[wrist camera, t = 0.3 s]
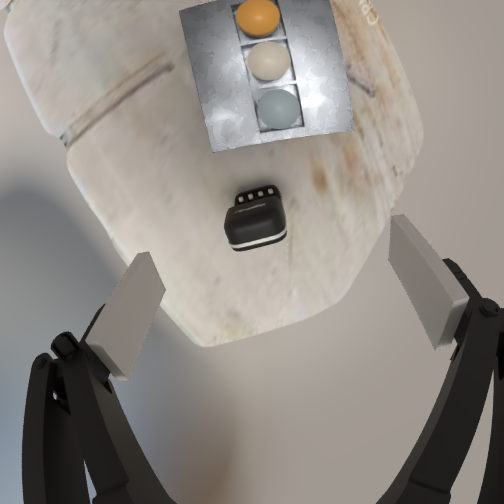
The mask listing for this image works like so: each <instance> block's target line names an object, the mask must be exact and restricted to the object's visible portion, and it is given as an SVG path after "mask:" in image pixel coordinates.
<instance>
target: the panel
mask: <svg viewBox="0 0 504 504" xmlns="http://www.w3.org/2000/svg"><path fill="white" fill-rule="evenodd" d="M245 1H247V0H217V1H213V2H209V3H205V4H201V5H198V6H194V7H191V8H187V9H184V10H181V11H179V14H180V18H181V22H182V27H183V31H184V35H185V40H186V44H187V48H188V52H189V57H190V61H191V65H192V69H193V74H194V78H195V82H196V86H197V90H198V94H199V98H200V102H201V107H202V111H203V115H204V119H205V123H206V127H207V131H208V135H209V139H210V143H211V147H212V151H213V152H218V151H223V150H227V149H232V148H237V147H242V146H247V145H253V144H258V143H264V142H270V141H276V140H283V139H289V138H296V137H304V136H311V135H320V134H329V133H338V132H349V131H354V122H353V115H352V107H351V100H350V94H349V87H348V82H347V76H346V70H345V65H344V60H343V55H342V50H341V45H340V41H339V36H338V32H337V28H336V24H335V20H334V16H333V12H332V9H331V5H330V1H329V0H268V1H270V2H272V3H273V4H275V5H276V7H277V8H278V10H279V13H280V18H279V24H278V27H277V29H276V30H275V32H274V33H272V34H271V35H269V36H266V37H262V38H255V37H251V36H249V35H247V34H245V33H244V32H243V31H242V30H241V28H240V26H239V24H238V22H237V18H236V13H237V10H238V8H239V7H240V5H241V4H243V3H244V2H245ZM266 41H271V42H276V43H278V44H280V45H282V46H283V47H284V48H285V49H286V50H287V51H288V53H289V55H290V60H291V62H290V67H289V69H288V71H287V72H286V73H285V74H284V75H283V76H282V77H281V78H279V79H277V80H274V81H264V80H261V79H259V78H257V77H256V76H254V75H253V73H252V72H251V71H250V69H249V67H248V64H247V56H248V53H249V51H250V50H251V49H252V48H253V47H254V46H255V45H256V44H258V43H261V42H266ZM274 89H282V90H286V91H289V92H290V93H292V94H293V95H294V96H295V97H296V98H297V100H298V102H299V104H300V115H299V117H298V119H297V121H296V122H295V123H294V124H293V125H291V126H290V127H288V128H285V129H274V128H271V127H269V126H267V125H266V124H264V123H263V121H262V120H261V119H260V117H259V114H258V103H259V101H260V99H261V97H262V96H263V95H264V94H265V93H267V92H269V91H271V90H274Z"/></svg>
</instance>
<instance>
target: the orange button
mask: <svg viewBox="0 0 504 504" xmlns="http://www.w3.org/2000/svg"><path fill="white" fill-rule="evenodd" d="M236 18H237V22H238V24H239V26H240V28H241V30H242V31H243V32H244V33H245V34H247V35H249V36H251V37H255V38H262V37H266V36H269V35H271V34H272V33H274V32H275V30H276V29H277V27H278V24H279V18H280V13H279V10H278V8H277V7H276V5H275V4H273V3H272V2H270V1H268V0H247V1H245V2H244V3H243V4H241V5H240V7H239V8H238V10H237V13H236Z"/></svg>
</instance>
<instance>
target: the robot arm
mask: <svg viewBox="0 0 504 504" xmlns="http://www.w3.org/2000/svg"><path fill="white" fill-rule="evenodd" d="M388 260H389V262H390V264H391V265H392V267H393V269H394V270H395V272H396V274H397V276H398V278H399V280H400V281H401V283H402V285H403V287H404V289H405V290H406V292H407V294H408V296H409V298H410V300H411V302H412V304H413V306H414V308H415V310H416V312H417V314H418V316H419V318H420V320H421V322H422V324H423V326H424V328H425V330H426V333H427V335H428V337H429V339H430V340H431V343H432V346H433V348H434V350H435V351H437V350H441V349H444V348H447V347H450V345H451V343H452V340H453V338H455V340H456V342H457V346H456V348H455V350H454V353H453V355H452V357H451V359H450V360H452V361H451V364H450V366H449V369H448V372H447V375H446V378H445V381H444V383H443V385H442V388H441V391H440V393H439V395H438V398H437V400H436V403H435V405H434V408H433V409H432V412H431V414H430V416H429V418H428V421H427V423H426V424H425V427H424V429H423V431H422V433H421V435H420V436H419V439H418V441H417V442H416V444H415V446H414V448H413V450H412V452H411V453H410V455H409V457H408V458H407V460H406V462H405V464H404V465H403V467H402V468H401V470H400V472H399V473H398V475H397V476H396V478H395V480H394V481H393V483H392V484H391V485H390V487H389V488H388V490H387V491H386V492H385V494H384V495H383V496H382V497H381V498H380V499H379V500H378V502H377V503H376V504H449V502H450V498H451V494H450V490H451V487H452V485H453V483H454V481H455V479H456V477H457V475H458V473H459V471H460V468H461V466H462V464H463V462H464V460H465V457H466V455H467V453H468V450H469V448H470V445H471V442H472V440H473V437H474V435H475V432H476V429H477V426H478V423H479V420H480V417H481V414H482V411H483V407H484V404H485V400H486V397H487V393H488V389H489V385H490V381H491V376H492V372H493V370H494V396H493V417H492V428H491V437H490V444H489V451H488V458H487V463H486V469H485V474H484V478H483V483H482V487H481V491H480V495H479V498H478V502H477V504H504V308H500V307H499V306H498V304H497V303H496V302H495V301H493V300H491V299H488V298H482V297H481V295H480V294H479V292H478V291H477V289H476V288H475V287H474V285H473V284H472V283H471V281H470V280H469V279H468V278H467V276H466V275H465V273H463V272H462V270H461V268H460V267H459V266H458V265H457V264H456V263H454V262H453V261H452V260H450V259H449V258H447V259H441V258H440V257H439V255H438V254H437V253H436V251H435V250H434V249H433V248H432V247H431V245H430V244H429V243H428V242H427V240H426V239H425V238H424V237H423V236H422V235H421V233H420V232H419V231H418V230H417V229H416V228H415V227H414V225H413V224H412V223H411V222H410V221H409V220H408V219H407V218H406V216H405V215H404V214H403V215H395V216H391V229H390V246H389V259H388ZM165 291H166V289H165V287H164V285H163V282H162V280H161V278H160V276H159V273H158V271H157V269H156V267H155V264H154V262H153V260H152V257H151V255H150V253H149V252H143V253H138V254H137V255H136V257H135V258H134V260H133V261H132V263H131V264H130V266H129V268H128V269H127V271H126V272H125V274H124V275H123V277H122V278H121V280H120V282H119V283H118V285H117V286H116V288H115V290H114V291H113V293H112V295H111V296H110V298H109V300H108V301H107V303H106V304H104V305H103V306H102V307H101V308H100V309H99V310H98V311H97V313H96V314H95V316H94V319H93V320H92V321H91V323H90V325H89V326H88V328H87V330H86V332H85V333H84V335H83V337H82V339H81V341H80V342H78V341H77V340H76V338H75V337H74V336H73V334H72V333H71V332H63V333H61V334H59V335H58V336H57V337H56V338H55V339H54V340H53V342H52V344H51V350H52V351H53V352H54V353H55V355H56V356H57V357H58V358H57V359H52V357H51V356H50V355H49V354H48V353H42V354H40V355H39V356H38V357H36V358H35V360H34V362H33V364H32V368H31V373H30V379H29V384H28V391H27V398H26V406H25V415H24V425H23V440H22V484H23V500H24V504H90V499H89V493H88V487H87V481H86V474H85V466H84V461H85V464H86V466H87V469H88V472H89V474H90V477H91V480H92V482H93V485H94V487H95V490H96V493H97V495H96V497H95V498H93V500H92V504H177V503H176V502H174V501H173V500H172V499H171V498H170V497H169V495H168V494H167V493H166V491H165V489H164V488H163V486H162V485H161V483H160V482H159V480H158V478H157V476H156V475H155V473H154V471H153V469H152V468H151V466H150V464H149V462H148V461H147V459H146V457H145V455H144V453H143V451H142V449H141V447H140V446H139V444H138V442H137V440H136V438H135V435H134V434H133V431H132V429H131V427H130V425H129V423H128V421H127V418H126V416H125V414H124V412H123V409H122V407H121V405H120V402H119V400H118V398H117V395H116V393H115V390H114V387H113V385H112V383H111V381H110V380H109V379H108V377H109V374H110V372H111V374H112V375H113V376H114V377H115V378H116V379H117V380H126V381H130V378H131V376H132V373H133V370H134V368H135V365H136V362H137V360H138V357H139V354H140V352H141V349H142V347H143V344H144V341H145V339H146V336H147V334H148V331H149V329H150V326H151V324H152V322H153V319H154V317H155V314H156V312H157V309H158V307H159V305H160V302H161V300H162V298H163V295H164V293H165ZM53 392H54V393H55V394H56V395H57V399H56V400H55V399H54V397H53Z"/></svg>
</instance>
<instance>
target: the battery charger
mask: <svg viewBox="0 0 504 504" xmlns="http://www.w3.org/2000/svg"><path fill="white" fill-rule="evenodd" d="M224 229H225V233H226V235H227V238H228V242H229V245H230V246H231V247H232V249H233V250H234V251H246V250H250V249H254V248H258V247H262V246H266V245H270V244H274V243H277V242H279V241H281V240H283V239H284V238H285V236H286V234H287V221H286V215H285V211H284V207H283V199H282V196H281V194H280V192H279V190H278V188H277V187H276V186H274V185H269V186H265V187H261V188H258V189H254V190H250V191H247V192H243V193H241V194H238V195H237V196H236V198H235V206H234V207H231V208H229V209H228V211H227V214H226V218H225V223H224Z"/></svg>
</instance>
